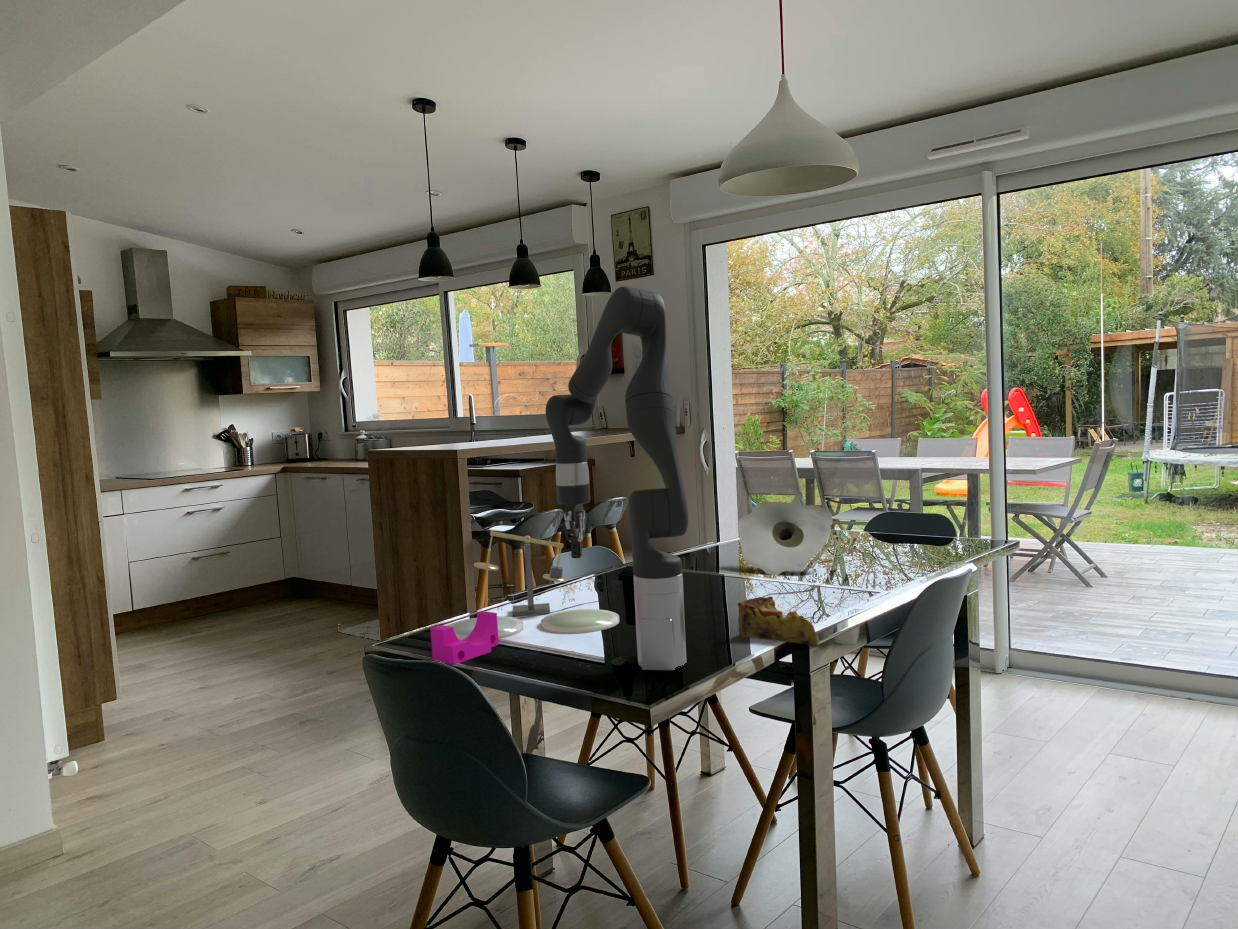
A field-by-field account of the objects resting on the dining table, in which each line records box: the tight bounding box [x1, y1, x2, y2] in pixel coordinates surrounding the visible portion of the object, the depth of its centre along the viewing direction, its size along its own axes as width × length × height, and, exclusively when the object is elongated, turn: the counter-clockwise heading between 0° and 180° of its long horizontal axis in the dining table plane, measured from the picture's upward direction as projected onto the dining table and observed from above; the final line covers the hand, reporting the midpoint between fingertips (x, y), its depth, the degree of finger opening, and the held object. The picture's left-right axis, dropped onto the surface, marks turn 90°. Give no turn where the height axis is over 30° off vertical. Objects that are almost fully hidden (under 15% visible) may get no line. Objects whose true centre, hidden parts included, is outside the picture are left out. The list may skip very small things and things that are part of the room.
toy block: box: [430, 610, 500, 666], centre depth 181 cm, size 15×6×8 cm, turn 143°
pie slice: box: [737, 595, 820, 646], centre depth 179 cm, size 18×10×8 cm, turn 37°
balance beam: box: [473, 530, 568, 583], centre depth 214 cm, size 6×23×9 cm, turn 96°
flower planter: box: [737, 491, 834, 576], centre depth 258 cm, size 16×30×28 cm
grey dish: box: [447, 615, 524, 640], centre depth 199 cm, size 18×18×1 cm
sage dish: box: [540, 608, 620, 634], centre depth 202 cm, size 18×18×1 cm
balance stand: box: [512, 543, 551, 617], centre depth 215 cm, size 6×9×17 cm, turn 96°
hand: (577, 557), depth 201 cm, fingers closed
